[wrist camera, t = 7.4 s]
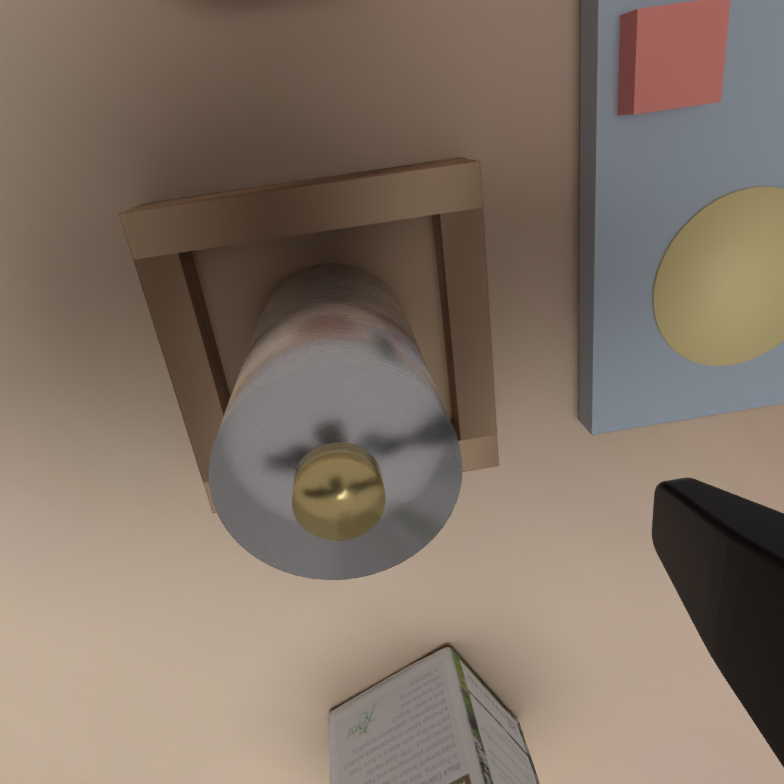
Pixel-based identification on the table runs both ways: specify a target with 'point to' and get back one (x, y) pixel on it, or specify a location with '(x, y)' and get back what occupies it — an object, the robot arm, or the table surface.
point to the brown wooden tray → (313, 247)
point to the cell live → (334, 433)
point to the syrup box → (428, 730)
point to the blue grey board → (680, 210)
